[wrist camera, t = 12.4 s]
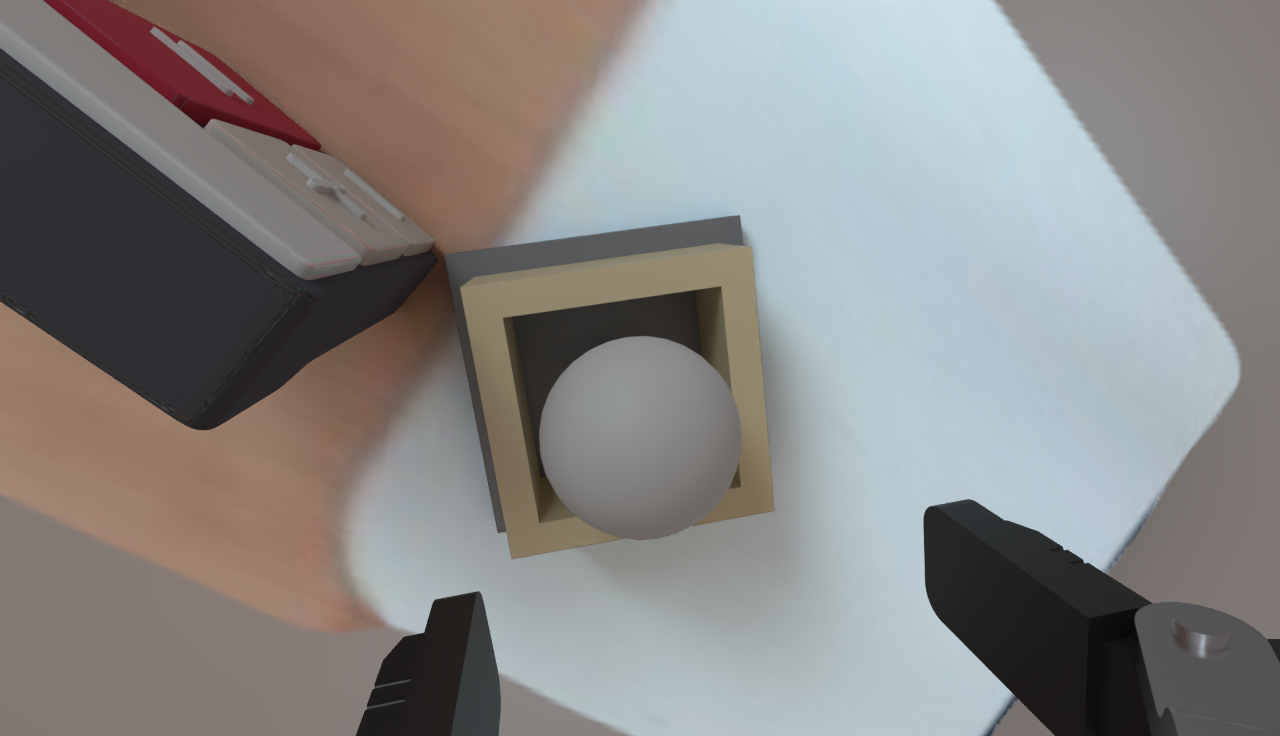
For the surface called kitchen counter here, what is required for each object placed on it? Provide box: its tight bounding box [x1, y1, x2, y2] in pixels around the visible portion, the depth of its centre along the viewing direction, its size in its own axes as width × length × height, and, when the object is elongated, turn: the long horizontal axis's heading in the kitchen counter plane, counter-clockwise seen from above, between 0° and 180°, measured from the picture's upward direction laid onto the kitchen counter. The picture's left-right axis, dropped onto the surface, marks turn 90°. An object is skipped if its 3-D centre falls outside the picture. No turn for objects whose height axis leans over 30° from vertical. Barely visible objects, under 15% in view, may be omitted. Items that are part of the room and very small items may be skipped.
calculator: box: [0, 0, 437, 430], centre depth 18 cm, size 11×4×15 cm, turn 48°
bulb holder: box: [444, 215, 775, 559], centre depth 26 cm, size 12×12×6 cm
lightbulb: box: [539, 336, 741, 540], centre depth 22 cm, size 6×6×11 cm
